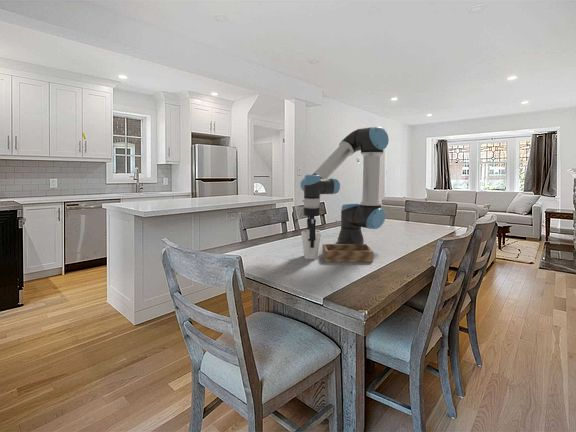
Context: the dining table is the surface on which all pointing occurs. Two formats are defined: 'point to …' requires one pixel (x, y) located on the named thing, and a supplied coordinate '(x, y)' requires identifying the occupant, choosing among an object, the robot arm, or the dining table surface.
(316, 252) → the foam cup
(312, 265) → the dining table surface
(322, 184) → the robot arm
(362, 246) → the walnut box
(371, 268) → the dining table surface
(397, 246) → the dining table surface
